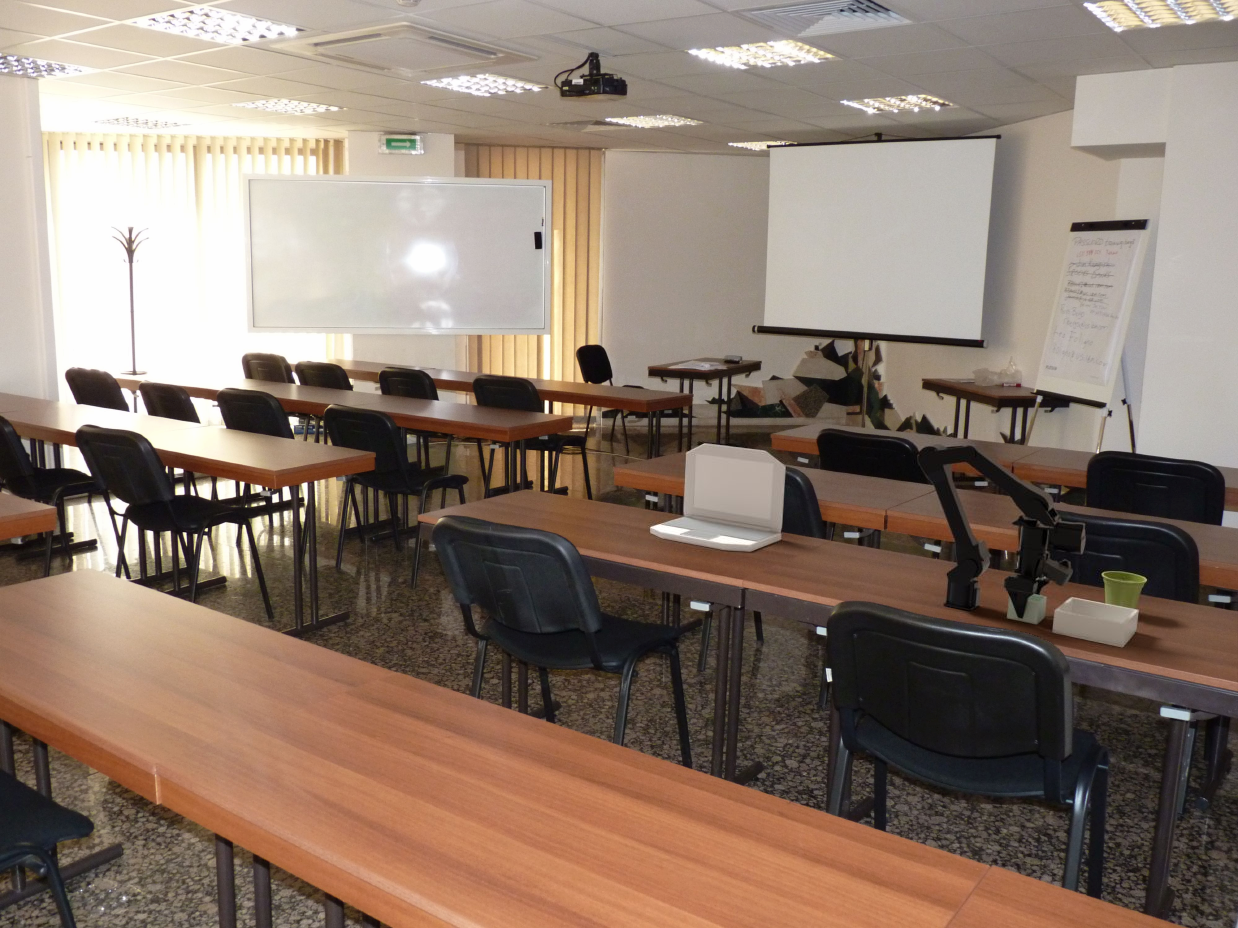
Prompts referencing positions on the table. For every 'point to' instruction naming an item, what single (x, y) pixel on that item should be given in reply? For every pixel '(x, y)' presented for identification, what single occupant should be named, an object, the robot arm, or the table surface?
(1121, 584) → the plant pot
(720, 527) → the laptop
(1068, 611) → the big crate
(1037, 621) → the small crate
